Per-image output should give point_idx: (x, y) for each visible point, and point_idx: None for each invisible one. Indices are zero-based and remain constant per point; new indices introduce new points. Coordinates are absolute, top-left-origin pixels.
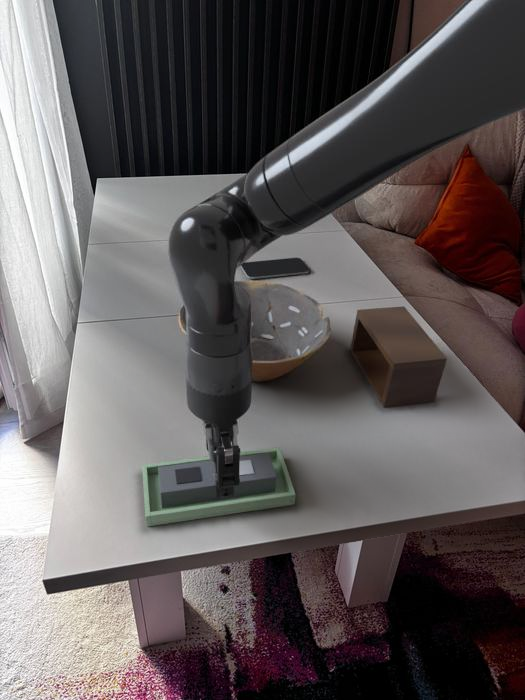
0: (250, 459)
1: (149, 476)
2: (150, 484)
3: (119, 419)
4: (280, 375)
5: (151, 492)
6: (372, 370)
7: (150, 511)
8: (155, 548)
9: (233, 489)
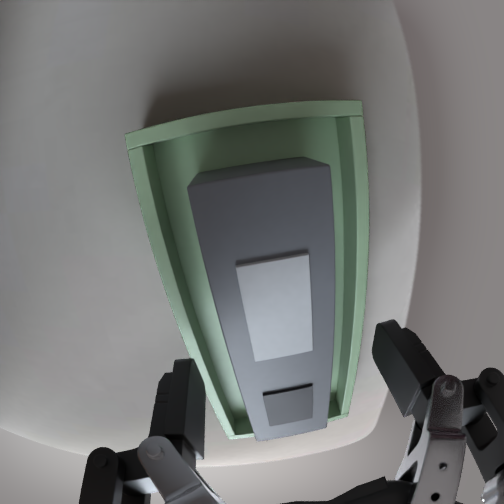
0: (231, 266)
1: (237, 416)
2: None
3: (112, 434)
4: None
5: None
6: None
7: None
8: (380, 377)
9: (404, 335)
